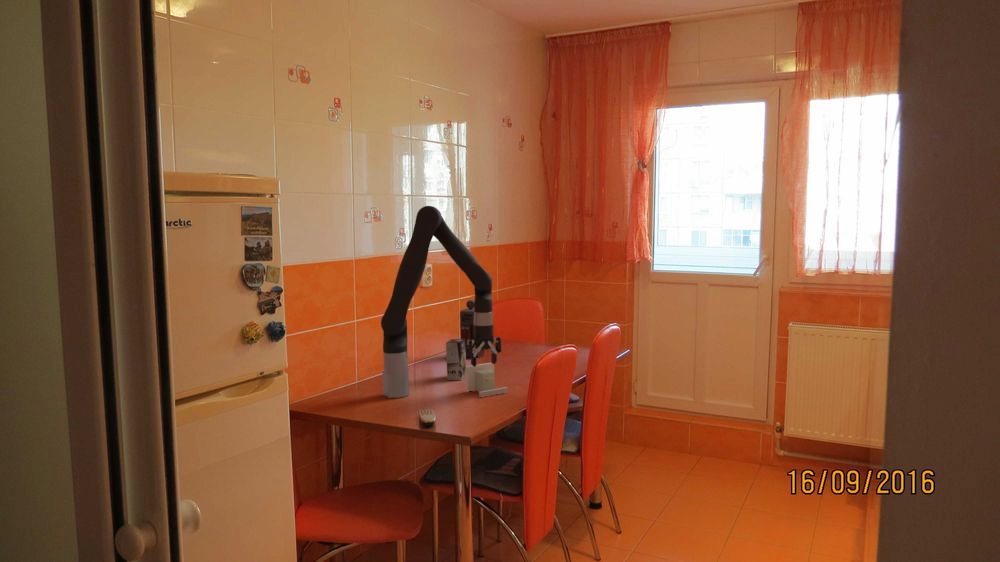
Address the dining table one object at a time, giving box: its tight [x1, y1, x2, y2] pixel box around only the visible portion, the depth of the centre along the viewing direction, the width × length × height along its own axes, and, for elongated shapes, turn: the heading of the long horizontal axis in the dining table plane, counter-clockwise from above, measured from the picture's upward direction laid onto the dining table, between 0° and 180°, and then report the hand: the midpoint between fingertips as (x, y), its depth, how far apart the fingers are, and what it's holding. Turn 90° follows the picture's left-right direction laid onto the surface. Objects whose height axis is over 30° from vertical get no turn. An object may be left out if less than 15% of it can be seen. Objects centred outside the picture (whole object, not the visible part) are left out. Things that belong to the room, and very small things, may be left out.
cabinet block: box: [475, 370, 496, 393], centre depth 271 cm, size 5×7×8 cm
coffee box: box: [445, 338, 467, 381], centre depth 297 cm, size 9×6×16 cm
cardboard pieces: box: [465, 362, 509, 398], centre depth 270 cm, size 12×11×10 cm
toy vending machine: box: [459, 299, 485, 359], centre depth 339 cm, size 9×11×28 cm
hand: (484, 364), depth 271 cm, fingers open, 8 cm apart
